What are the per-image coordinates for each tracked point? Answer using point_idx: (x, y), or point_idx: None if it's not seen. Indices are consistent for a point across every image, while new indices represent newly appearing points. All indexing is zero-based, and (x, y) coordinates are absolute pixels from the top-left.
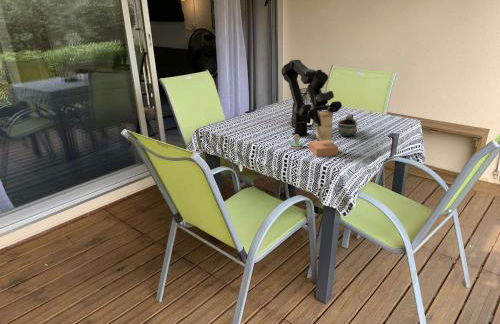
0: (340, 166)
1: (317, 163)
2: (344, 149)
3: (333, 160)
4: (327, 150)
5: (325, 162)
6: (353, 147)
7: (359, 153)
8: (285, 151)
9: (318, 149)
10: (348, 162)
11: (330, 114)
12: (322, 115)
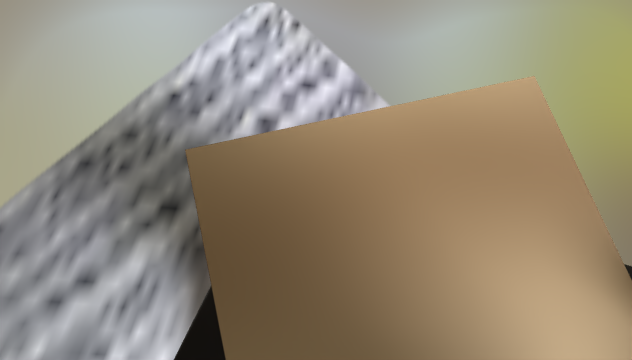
0: (258, 42)
1: (374, 93)
2: (137, 309)
3: (275, 122)
4: None
5: (327, 100)
6: (43, 351)
7: (58, 216)
8: None
9: None
10: (195, 84)
11: (276, 141)
12: (511, 91)
